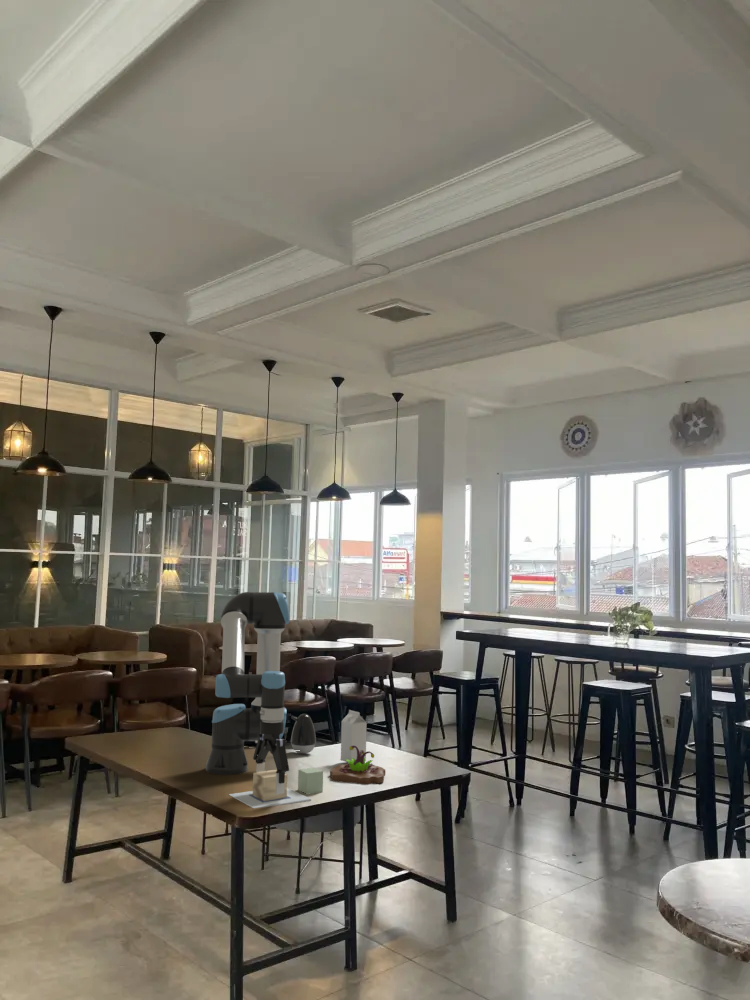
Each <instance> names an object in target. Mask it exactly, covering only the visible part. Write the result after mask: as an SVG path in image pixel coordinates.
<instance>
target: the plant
mask: <svg viewBox="0 0 750 1000" xmlns="http://www.w3.org/2000/svg"><path fill="white" fill-rule="evenodd" d="M354 748H356V750H357V759H356V760H355V759H354V758H352V762H351V761H350V760H348V759H345V760H346V761H347V762H346V763H345V764H338V765H337V766H334V767H333V768H331V770H330V771H329V777H331V781H335V782H343V783H356V784H358V785H361V784H362V785H365V784H366V785H370V784H381V783H384V780H385V776H386V769H385V768H384V767H381V766H378V765H375V764H373V763H372V762H373V759H374V758H375V753H374V752H372V751H366V752H365V753H364V751H363V750H361V751H360V753H359V749H358V748H357V747H356V746H350V748H349V749H350V750H353V749H354ZM362 754H363V755H362ZM367 754H370V757H371V758H372V759H371V760H366V761H365V758H364V756H365V755H366V756H367Z"/></svg>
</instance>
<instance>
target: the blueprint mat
mask: <svg viewBox="0 0 750 1000" xmlns="http://www.w3.org/2000/svg"><path fill="white" fill-rule="evenodd" d="M228 796H230V797H231V798H233V799H235V800H236V801H240V802H241V803H242V804H244V805H246V806H248V807H250V808H252V809H253V808H254V809H260V808H268V807H274V806H275V807H276V806H281V805H282V806H283V805H289V804H291V805H292V804H298V803H305V802H306V801H307V802H311V801H312V799H311V797H308V796H306V795H304V794H301V793H300V792H298V791H296V790H293V789H292V788H290V787H287V798H280V799H273V800H267V801H263V800H261V799H259V798H257V797H255V796H253V790H250V791H248V790H247V791H243V792H235V793H229V794H228Z"/></svg>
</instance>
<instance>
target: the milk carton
mask: <svg viewBox="0 0 750 1000" xmlns="http://www.w3.org/2000/svg"><path fill="white" fill-rule="evenodd" d="M360 714H361V713H360V712H359V711H355V710H351V709H348V713H347V715H345V717H344V718H343V719H342V720H341V727H340V728H341V732H340V733H341V735H340V737H341V738H340V761H342V762H344V763H348V762H347V761H346V760H345V759H348V760H350V761H351V762H352V758H354V759H355V760H356V759H357V750H356V748H354V749H353V750H350V749H349V748H350V746H356V747H357V748H358V749H359V753H360V751H361V750H363V751H364V753H365V752H367V728H368V727H367V721H366V720H365V719H364V718H363V717H362V716H361V715H360ZM362 755H363V754H362ZM364 758H365V762H367V754H366V755H365V756H364Z"/></svg>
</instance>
